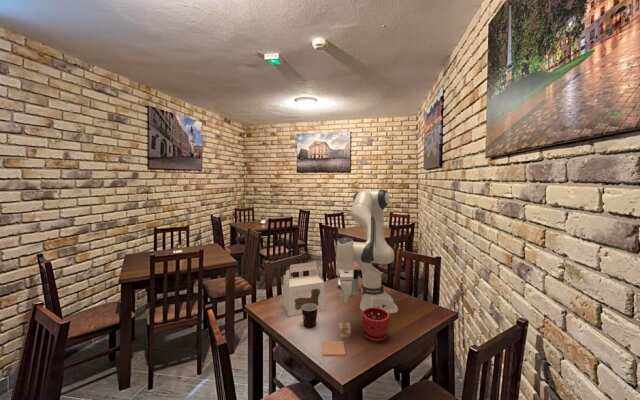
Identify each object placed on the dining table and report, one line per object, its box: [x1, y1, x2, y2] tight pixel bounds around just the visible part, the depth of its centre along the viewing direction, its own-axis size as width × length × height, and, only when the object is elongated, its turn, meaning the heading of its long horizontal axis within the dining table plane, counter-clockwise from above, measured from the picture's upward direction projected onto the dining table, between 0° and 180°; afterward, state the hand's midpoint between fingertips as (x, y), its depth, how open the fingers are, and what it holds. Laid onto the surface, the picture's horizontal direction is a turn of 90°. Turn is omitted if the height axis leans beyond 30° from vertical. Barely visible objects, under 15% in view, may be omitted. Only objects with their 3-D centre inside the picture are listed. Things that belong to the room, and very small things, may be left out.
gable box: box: [282, 261, 325, 317], centre depth 170 cm, size 22×13×28 cm, turn 110°
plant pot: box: [361, 308, 390, 342], centre depth 140 cm, size 13×13×12 cm
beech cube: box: [339, 322, 352, 339], centre depth 142 cm, size 5×5×5 cm
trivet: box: [321, 340, 346, 357], centre depth 131 cm, size 10×10×1 cm
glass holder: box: [338, 268, 360, 296], centre depth 195 cm, size 9×14×15 cm, turn 91°
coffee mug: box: [301, 304, 318, 329], centre depth 150 cm, size 12×9×10 cm
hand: (344, 297), depth 141 cm, fingers open, 8 cm apart
